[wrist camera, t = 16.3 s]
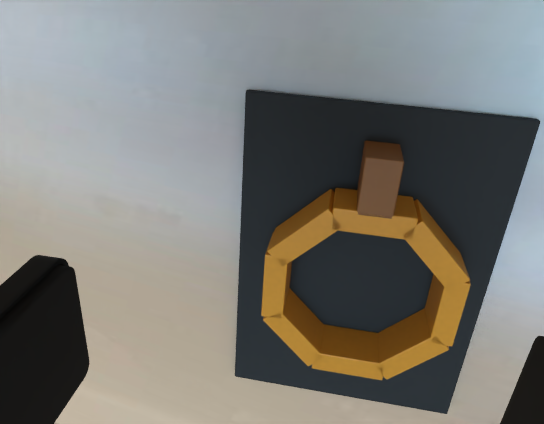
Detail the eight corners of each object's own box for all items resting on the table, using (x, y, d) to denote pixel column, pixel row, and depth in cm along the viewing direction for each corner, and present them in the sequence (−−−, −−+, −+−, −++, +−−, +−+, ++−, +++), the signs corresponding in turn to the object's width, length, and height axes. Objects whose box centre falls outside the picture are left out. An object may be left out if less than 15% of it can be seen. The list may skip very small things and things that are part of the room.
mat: (247, 89, 28) (245, 91, 27) (537, 118, 26) (540, 121, 25) (236, 371, 37) (234, 376, 37) (445, 408, 35) (446, 414, 35)
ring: (280, 130, 28) (271, 146, 25) (490, 153, 26) (504, 173, 24) (266, 330, 34) (257, 359, 32) (433, 357, 33) (439, 390, 30)
